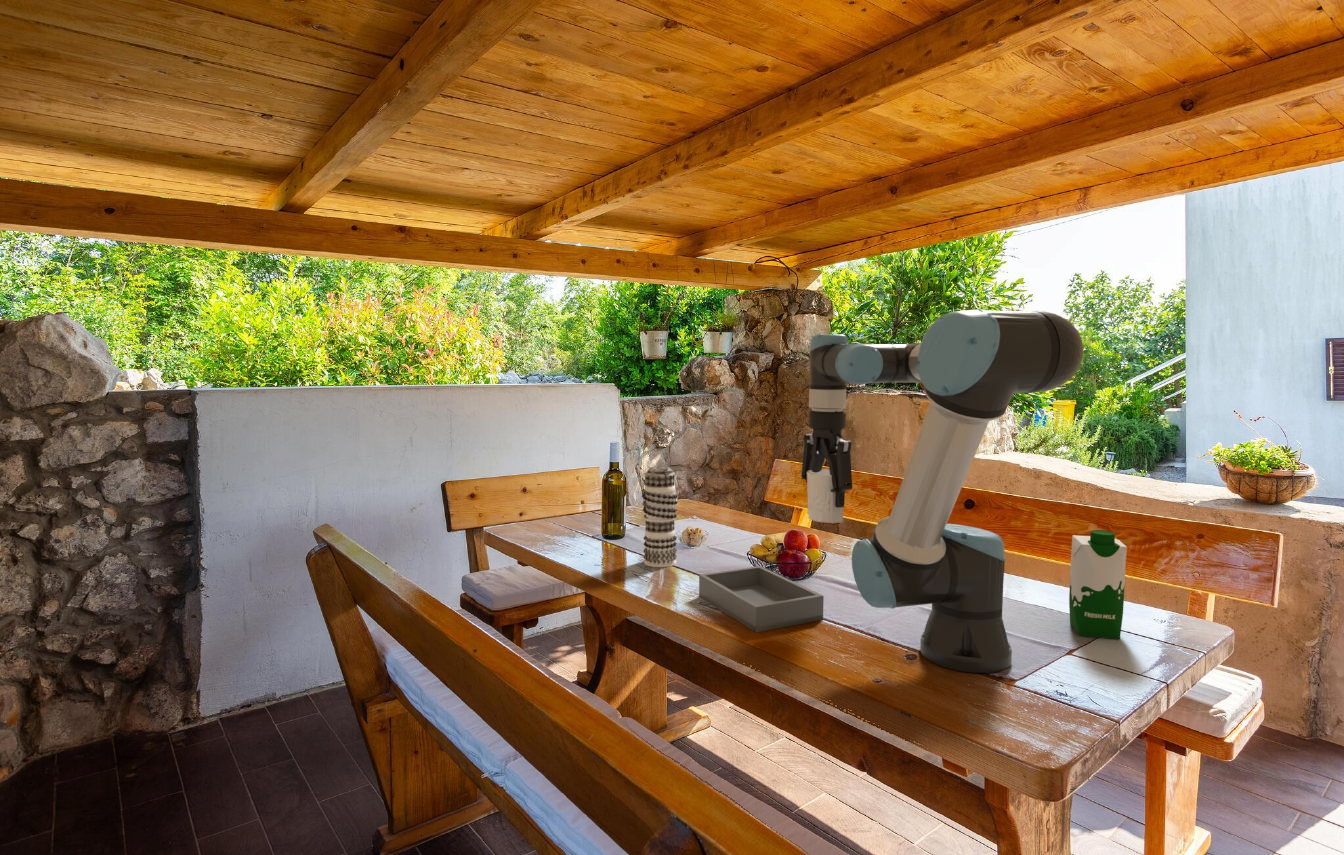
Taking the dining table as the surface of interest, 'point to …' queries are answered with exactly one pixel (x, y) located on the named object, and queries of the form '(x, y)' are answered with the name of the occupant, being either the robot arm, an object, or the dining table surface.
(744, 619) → the bin
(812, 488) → the white cup
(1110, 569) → the milk carton
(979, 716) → the dining table surface
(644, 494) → the decorative candle
